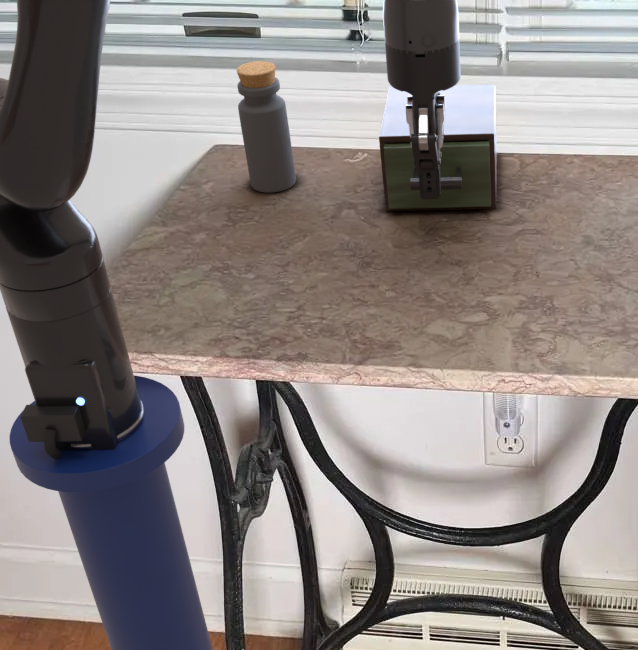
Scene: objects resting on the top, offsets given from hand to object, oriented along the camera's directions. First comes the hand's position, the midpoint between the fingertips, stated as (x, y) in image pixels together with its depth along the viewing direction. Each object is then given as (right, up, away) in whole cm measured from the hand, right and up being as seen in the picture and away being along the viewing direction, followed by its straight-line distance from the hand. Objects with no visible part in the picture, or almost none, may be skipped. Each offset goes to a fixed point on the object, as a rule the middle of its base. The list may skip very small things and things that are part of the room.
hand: (430, 196), depth 130 cm
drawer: (+1, +5, +18) cm, 19 cm away
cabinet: (+1, +7, +22) cm, 23 cm away
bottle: (-21, +7, +23) cm, 32 cm away
